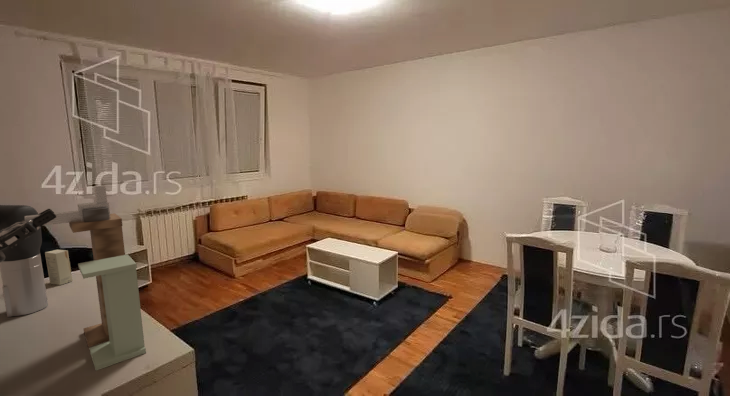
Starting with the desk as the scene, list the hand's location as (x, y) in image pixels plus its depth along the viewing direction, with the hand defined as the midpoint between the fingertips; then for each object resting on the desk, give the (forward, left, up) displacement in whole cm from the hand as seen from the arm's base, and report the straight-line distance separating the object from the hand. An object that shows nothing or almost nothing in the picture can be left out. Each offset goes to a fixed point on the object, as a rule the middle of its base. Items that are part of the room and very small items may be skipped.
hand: (53, 212), depth 85 cm
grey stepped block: (+3, 0, -3) cm, 4 cm away
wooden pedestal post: (+8, 0, -35) cm, 36 cm away
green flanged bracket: (+8, -13, -35) cm, 38 cm away
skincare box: (+1, +57, -35) cm, 67 cm away
